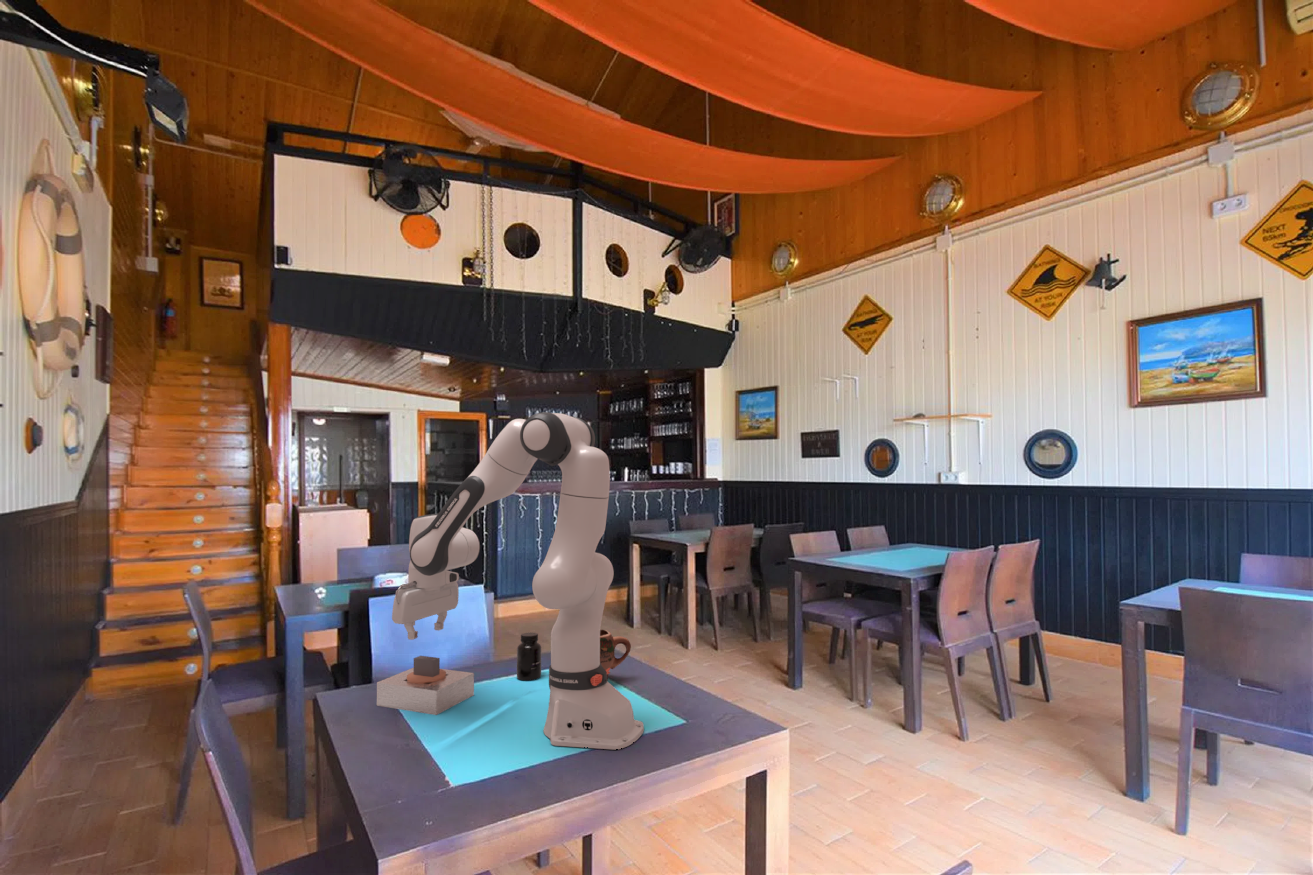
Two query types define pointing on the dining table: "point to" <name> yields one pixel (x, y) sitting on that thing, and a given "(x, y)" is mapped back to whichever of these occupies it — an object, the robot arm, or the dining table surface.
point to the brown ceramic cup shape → (611, 649)
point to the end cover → (426, 670)
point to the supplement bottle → (529, 657)
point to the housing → (425, 692)
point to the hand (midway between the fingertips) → (426, 634)
